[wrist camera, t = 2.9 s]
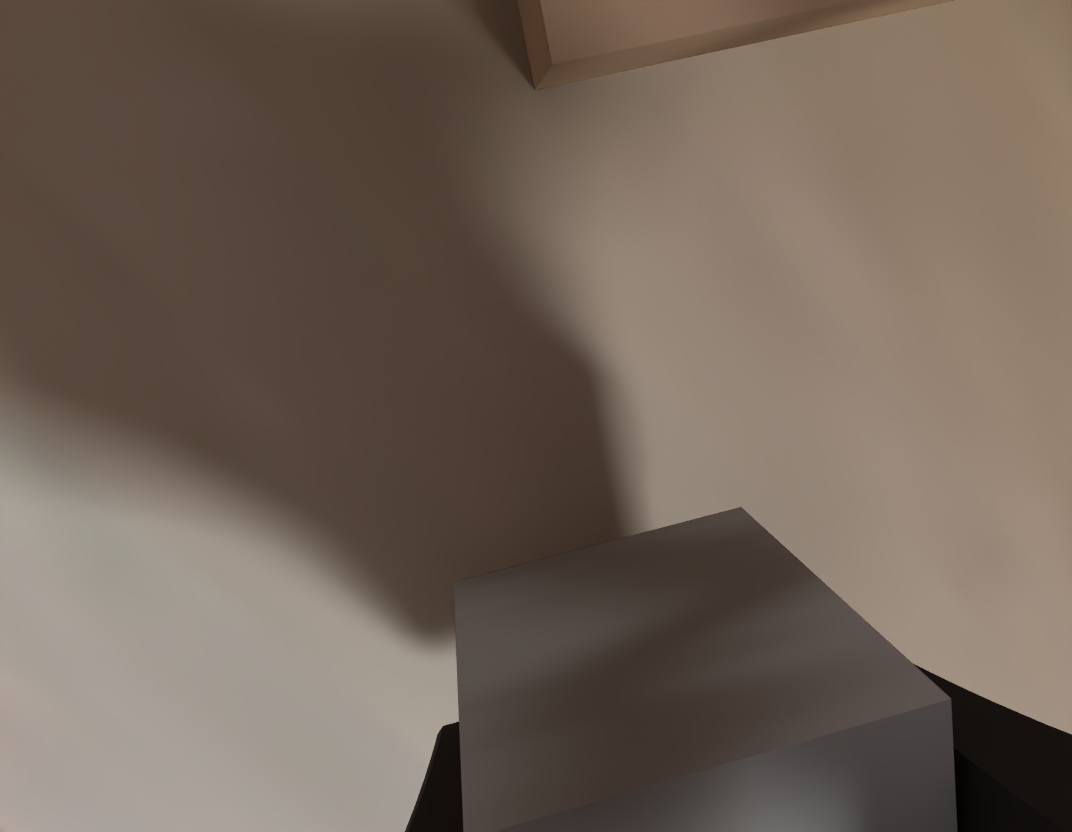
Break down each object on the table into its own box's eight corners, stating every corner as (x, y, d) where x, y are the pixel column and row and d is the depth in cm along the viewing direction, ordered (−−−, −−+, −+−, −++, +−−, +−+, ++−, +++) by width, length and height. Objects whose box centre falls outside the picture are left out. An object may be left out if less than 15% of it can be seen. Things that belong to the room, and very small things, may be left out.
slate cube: (740, 507, 12) (951, 698, 7) (774, 743, 13) (967, 1038, 8) (453, 581, 11) (464, 840, 6) (519, 816, 13) (567, 1170, 8)
